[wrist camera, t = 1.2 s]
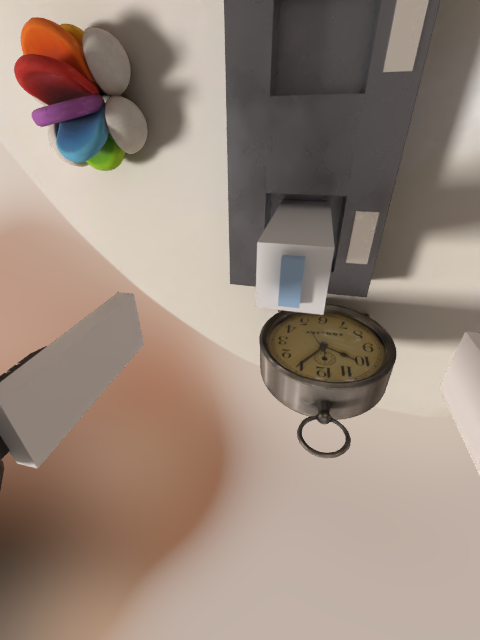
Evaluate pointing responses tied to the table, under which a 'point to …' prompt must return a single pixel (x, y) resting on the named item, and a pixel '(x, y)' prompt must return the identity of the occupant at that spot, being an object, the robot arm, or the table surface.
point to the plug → (295, 258)
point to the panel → (320, 119)
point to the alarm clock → (326, 365)
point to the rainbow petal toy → (80, 92)
